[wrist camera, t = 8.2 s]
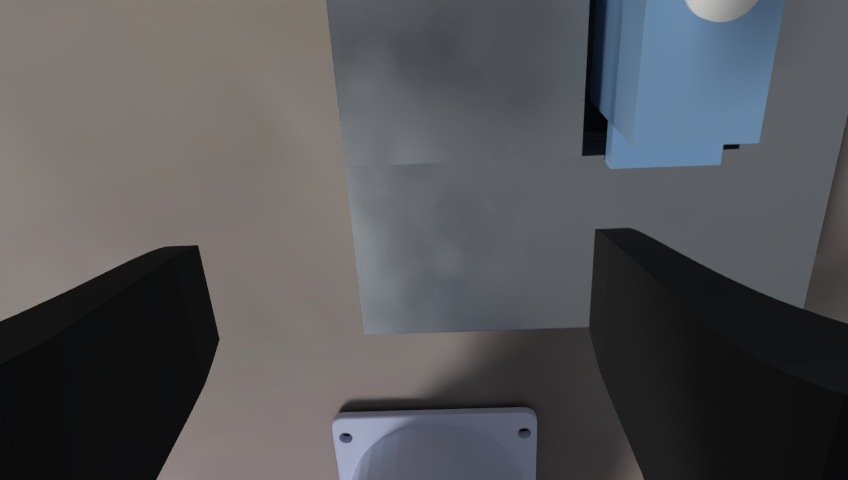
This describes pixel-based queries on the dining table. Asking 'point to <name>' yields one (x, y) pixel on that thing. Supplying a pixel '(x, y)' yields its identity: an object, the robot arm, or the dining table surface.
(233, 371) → the dining table surface
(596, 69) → the block
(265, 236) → the dining table surface
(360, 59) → the plate
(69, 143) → the dining table surface
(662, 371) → the robot arm
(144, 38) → the dining table surface
